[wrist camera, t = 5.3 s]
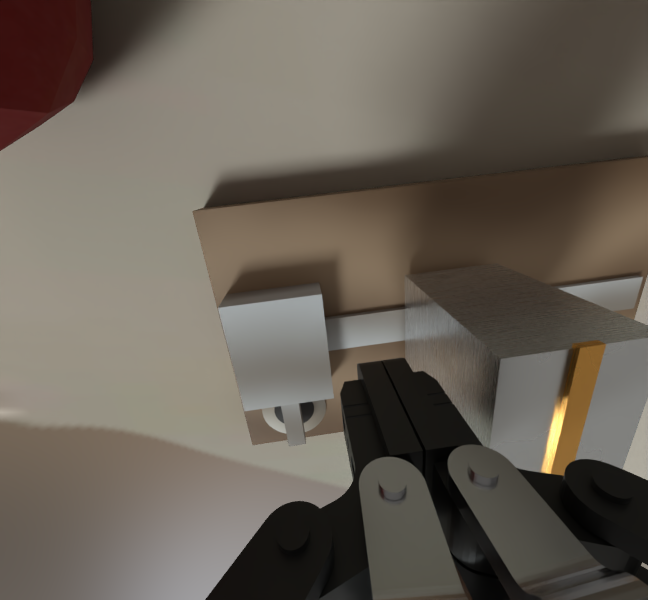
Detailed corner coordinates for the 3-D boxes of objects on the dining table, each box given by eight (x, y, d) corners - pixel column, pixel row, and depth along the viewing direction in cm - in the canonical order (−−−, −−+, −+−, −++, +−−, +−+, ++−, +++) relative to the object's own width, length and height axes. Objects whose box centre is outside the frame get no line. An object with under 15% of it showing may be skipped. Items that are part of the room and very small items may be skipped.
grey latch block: (404, 273, 13) (505, 358, 7) (496, 261, 13) (678, 333, 7) (406, 415, 16) (477, 567, 9) (481, 403, 16) (601, 546, 10)
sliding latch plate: (203, 208, 13) (178, 215, 10) (644, 156, 14) (731, 149, 11) (256, 424, 18) (248, 469, 15) (588, 374, 18) (641, 409, 16)
